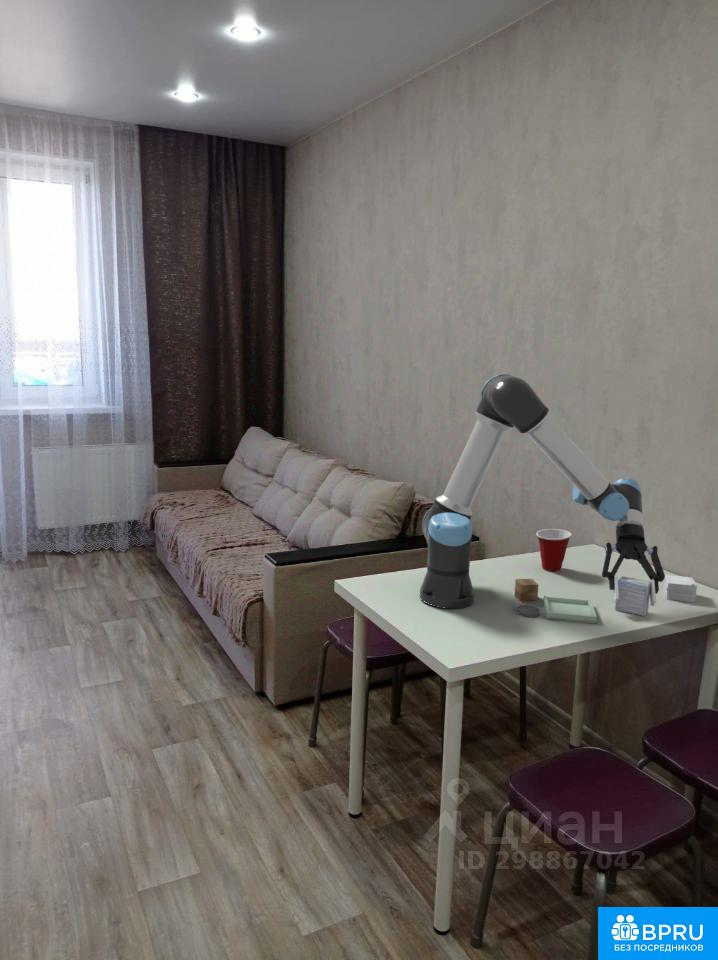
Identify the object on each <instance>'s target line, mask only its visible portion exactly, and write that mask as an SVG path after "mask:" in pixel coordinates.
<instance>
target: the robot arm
mask: <svg viewBox="0 0 718 960" xmlns="http://www.w3.org/2000/svg"><path fill="white" fill-rule="evenodd" d="M475 416H476V419H477V420H476V422H475V425H474V427H473V429H472V431H471V434H470V435H469V437H468V440H467V442H466V444H465V446H464V449H463V451H462V453H461V455H460V457H459V460H458V462H457V464H456V466H455V468H454V470H453V472H452V475H451V477H450V479H449V481H448V483H447V486H446V488H445V490H444V492H443V494H442V495H439V496H436V497H435V498H434V502H433V504H432V505H431V507H430V509H428V510H427V511H426V513H425V514H424V516H423V518H422V519H423V520H422V524H421V529H422V534H423V535H424V539H425V540H426V544H427V562H426V563H427V567H426V573H425V575H424V578H423V581H422V584H421V586H420V588H419V599H420V598H421V599H422V600H423V601H425V602H427V603H429V604H432V605H435V606H439V607H445V608H444V609H447V608H456V609H463V608H467V607H469V606H472V605H473V604H474V602H475V590H474V587H473V583H472V580H471V577H470V567H471V565H470V564H471V562H470V561H471V550H472V549H471V547H472V537H473V527H472V526H473V525H472V522H471V518H472V516H473V513H472V508H471V506H472V504H473V501H474V500H475V498H476V495H477V494H478V491H479V490H480V489H479V488H480V486H481V485H482V482H483V480H484V479H485V476H486V474H487V472H488V470H489V468H490V466H491V463H492V461H493V459H494V456H495V455H496V452H497V451H498V449H499V446H500V444H501V442H502V440H503V438H504V435H505V433H506V432H508V431H511V430H513V429H514V428H515V429H516V430H517V431H518V432H519V433H520V434H521V435H527V436H528V437H529V438H530V439H531V440H532V442H534V444H535V445H536V446H537V447H538V448H539V449H540V450H541V451H542V452H543V453H544V454H545V455H546V457H547V458H549V460H550V461H551V462H552V464H554V465H555V466H556V467H557V469H558V470H559V471H560V472H561V473H562V474H563V475H564V476H565V477H566V479H568V481H569V482H570V483H571V484H572V485H573V488H572V499H573V501H574V503H577V504H580V505H582V506H589V507H590V508H592V510H594V511H596V512H597V513H598V514H599V515H601V516H602V517H603V519H605V520H607V521H608V520H609V521H613V522H615V523H614V524H615V529H616V530H615V538H616V539H615V540H616V542H615V543H611V542H607V543H606V544H605V547H604V549H605V556H604V563H603V568H602V571H601V572H602V573H601V577H602V578H607V581H608V584H609V587H608V588H609V590H611V591H613V602H614V604H616V603H617V602H618V600H619V591H618V580H619V578H618V576H616V575H617V572H618V571H619V569H620V566H621V565H622V563H623V561H624V559H625V560H634V561H637V562H638V564H640V565H641V567H642V568H643V569H642V570H644V573H646V576H647V577H648V578H649V580H650V581H649V582H651V587H650V597H649V603H650V606H651V607H654V606H655V605H656V603H657V595H656V594H658V593H659V590H660V587H659V583H662V582H664V581H665V575H666V574H665V572H664V569H663V565H662V562H661V559H660V558H659V557H660V556H659V554H658V551H659V550H658V546H657V545H653V546H648V545H647V543H646V540H645V529H644V516H643V504H642V498H643V496H642V491H641V486H640V483H639V482H638V481H637V480H635V479H633V478H629V477H628V478H620V479H617V480H616V481H614V483H611V482H609V480H608V479H607V478H606V477H605V476H604V475H603V474H602V472H601V471H600V470H599V469H598V468H597V467H596V466H595V465H594V464H593V463H592V461H591V460H590V459H589V458H588V456H586V455H585V454H584V453H583V451H582V450H581V449H580V448H579V447H578V446H577V445H576V443H574V442H573V440H572V439H571V438H570V437H569V436H568V434H566V433H565V431H564V430H563V429H562V428H561V427H560V426H559V425H558V423H556V422H555V420H554V419H553V418H552V417H551V416H550V409H549V408H548V406H546V404H545V403H544V401H542V400H541V398H540V397H539V395H538V394H537V393H536V391H535V390H534V389H533V388H532V387H531V385H530V384H529V383H528V382H527V381H526V380H524V379H523V378H520V377H517V376H515V375H512V374H508V373H507V374H506V373H503V374H502V373H501V374H498V375H495V376H492V377H491V378H489V379H488V380H487V381H486V382H485V384H484V385H483V387H482V390H481V393H480V401H479V403H478V406H477V407H476V410H475ZM615 550H616V551H617V552H618V553H619V557H618V559H617V560H616V562H615V564H614V565H613V568H612V569H611V571H609V569H610V562H611V557H612V554H613V552H614V551H615ZM646 552H647V553H648V555H649V556H650V559H651V562H652V565H653V567H652V565H651V563H650V561H648V559H647V557H646V554H645V553H646ZM653 568H654V569H653ZM421 599H420V600H421ZM439 607H438V608H439Z"/></svg>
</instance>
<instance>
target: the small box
mask: <svg viewBox="0 0 718 960" xmlns="http://www.w3.org/2000/svg"><path fill="white" fill-rule="evenodd" d="M697 587H698V586H697V583H696V581H695V579H694V577H692V576H691V577H690V576H681V575H671V574H669V575H668V574H665V578H664V580H663V593H664V595H665V598H666V599H665V600H671V601H672V600H673V601H679V602H687V603H688V602H689V603H696V600H697V599H696V597H697Z"/></svg>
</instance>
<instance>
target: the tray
mask: <svg viewBox="0 0 718 960" xmlns="http://www.w3.org/2000/svg"><path fill="white" fill-rule="evenodd" d="M542 599H543V601H542V602H543V607H544V611H545V617H546V620H553V621H565V622H577V623H585V624H586V623H587V622H588V623H587V624H597V622H598V615H597V613H596V611H595V607H594V606H593V603H592V600H591V599H588V598H587V599H586V598H576V597H565V596H564V597H563V596H562V597H561V596H554V595H553V596H551V595H543V598H542Z"/></svg>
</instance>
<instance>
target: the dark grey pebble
mask: <svg viewBox="0 0 718 960" xmlns="http://www.w3.org/2000/svg"><path fill="white" fill-rule="evenodd" d="M516 614H517V615H518V616H522V617H524V618H536V617H538V616H540V608H539V607H538V606H535V605H531V604H519V605H517V606H516Z"/></svg>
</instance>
